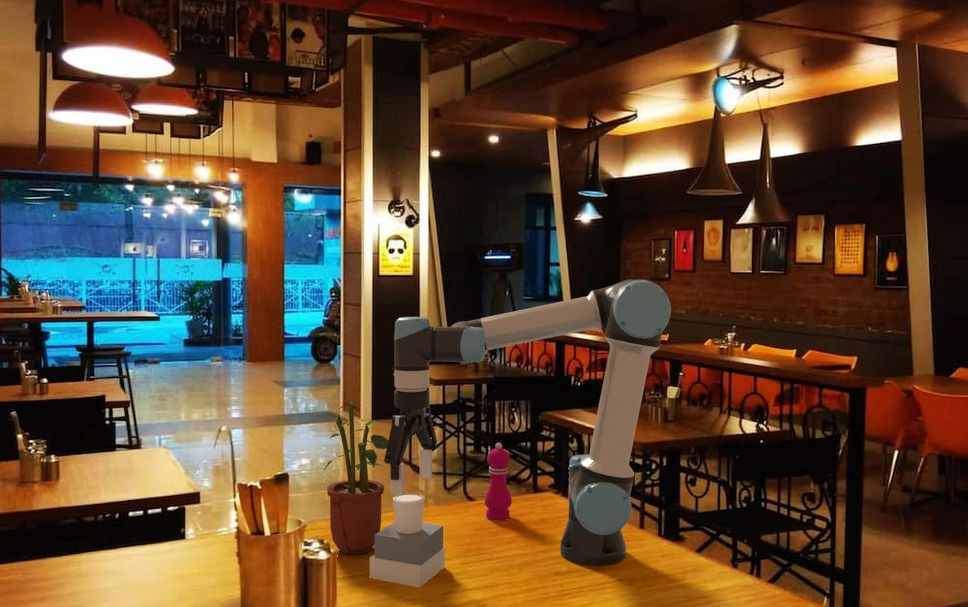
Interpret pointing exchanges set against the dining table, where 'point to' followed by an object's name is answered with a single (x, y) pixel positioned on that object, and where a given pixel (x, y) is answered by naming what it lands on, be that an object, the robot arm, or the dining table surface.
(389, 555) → the tower top
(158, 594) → the dining table surface
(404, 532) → the white cup
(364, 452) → the potted plant
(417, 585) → the tower base
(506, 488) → the pepper mill
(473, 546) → the dining table surface
